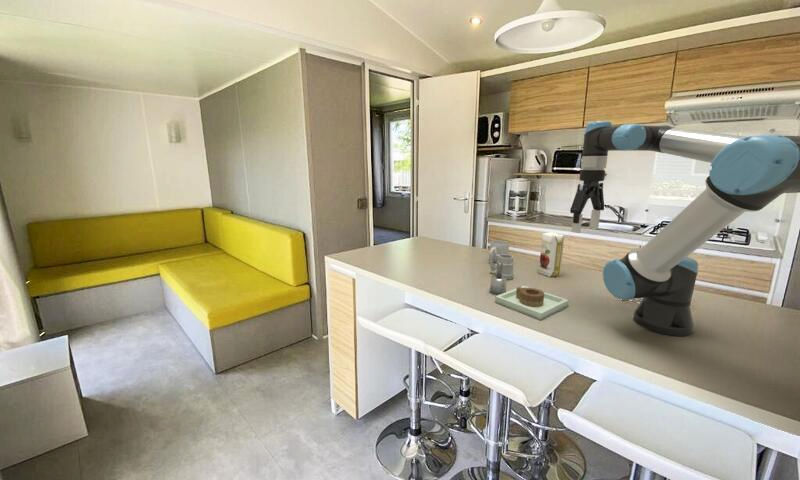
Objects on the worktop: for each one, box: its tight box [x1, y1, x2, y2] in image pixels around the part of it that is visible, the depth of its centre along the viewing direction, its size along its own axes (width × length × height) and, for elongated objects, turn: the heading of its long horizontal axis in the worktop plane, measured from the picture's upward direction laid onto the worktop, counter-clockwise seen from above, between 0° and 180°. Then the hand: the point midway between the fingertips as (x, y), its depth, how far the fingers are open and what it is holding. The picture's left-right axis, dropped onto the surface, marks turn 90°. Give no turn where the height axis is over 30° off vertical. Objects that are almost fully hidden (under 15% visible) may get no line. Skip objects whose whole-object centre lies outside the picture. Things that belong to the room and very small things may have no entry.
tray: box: [494, 285, 570, 321], centre depth 123 cm, size 18×18×2 cm
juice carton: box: [538, 231, 566, 278], centre depth 154 cm, size 8×9×19 cm
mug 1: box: [488, 240, 510, 263], centre depth 174 cm, size 13×9×10 cm
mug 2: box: [489, 249, 515, 281], centre depth 152 cm, size 8×12×12 cm, turn 39°
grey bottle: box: [489, 262, 508, 296], centre depth 133 cm, size 6×6×12 cm
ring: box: [516, 286, 544, 307], centre depth 123 cm, size 10×8×4 cm
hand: (585, 230), depth 121 cm, fingers open, 13 cm apart
